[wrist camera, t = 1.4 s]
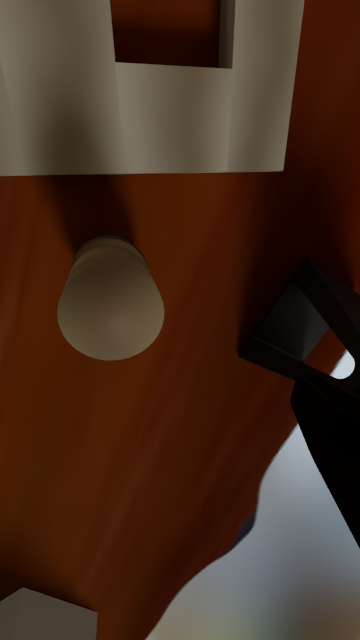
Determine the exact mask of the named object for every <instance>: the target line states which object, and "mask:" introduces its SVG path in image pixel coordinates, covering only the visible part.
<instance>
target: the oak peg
mask: <svg viewBox="0 0 360 640" xmlns="http://www.w3.org/2000/svg"><path fill="white" fill-rule="evenodd" d="M57 317H58V323H59V326H60V329H61V331H62V333H63V335H64V337H65V338H66V340H67V341H68V342H69V343H70V344H71V345H72V346H73V347H74V348H75V349H77V350H78V351H80V352H81V353H83V354H85V355H87V356H90V357H92V358H96V359H101V360H120V359H125V358H129V357H132V356H134V355H136V354H138V353H140V352H142V351H143V350H145V349H146V348H147V347H148V346H149V345H150V344H152V342H153V341H154V340H155V339H156V337H157V336H158V334H159V332H160V330H161V328H162V324H163V320H164V305H163V301H162V298H161V296H160V293H159V291H158V289H157V287H156V285H155V283H154V280H153V278H152V276H151V274H150V272H149V270H148V265H147V262H146V260H145V258H144V256H143V254H142V252H141V251H140V250H139V249H138V248H137V247H136V246H135V245H134V244H133V243H131V242H130V241H128V240H127V239H125V238H122V237H120V236H116V235H101V236H98V237H95V238H93V239H91V240H89V241H88V242H86V243H85V244H84V245H83V246H82V247H81V248H80V249H79V250H78V252H77V253H76V255H75V257H74V259H73V262H72V267H71V271H70V274H69V277H68V279H67V282H66V284H65V287H64V289H63V292H62V294H61V297H60V300H59V303H58V309H57Z"/></svg>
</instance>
